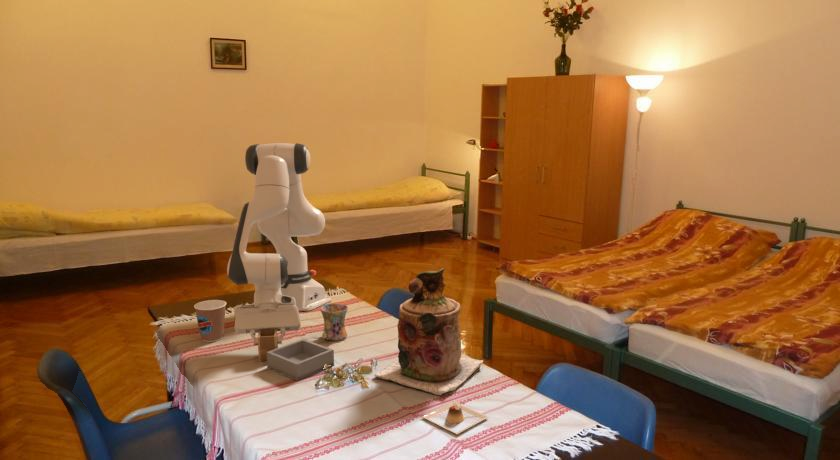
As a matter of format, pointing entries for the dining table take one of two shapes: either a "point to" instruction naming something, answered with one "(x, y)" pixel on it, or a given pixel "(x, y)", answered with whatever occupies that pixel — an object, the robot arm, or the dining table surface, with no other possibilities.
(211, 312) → the coffee cup
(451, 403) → the dessert
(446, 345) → the cookie jar
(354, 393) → the dining table surface
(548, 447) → the dining table surface
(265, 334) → the square wooden cup
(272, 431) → the dining table surface
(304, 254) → the robot arm
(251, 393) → the dining table surface
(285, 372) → the grey crate
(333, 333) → the mug
